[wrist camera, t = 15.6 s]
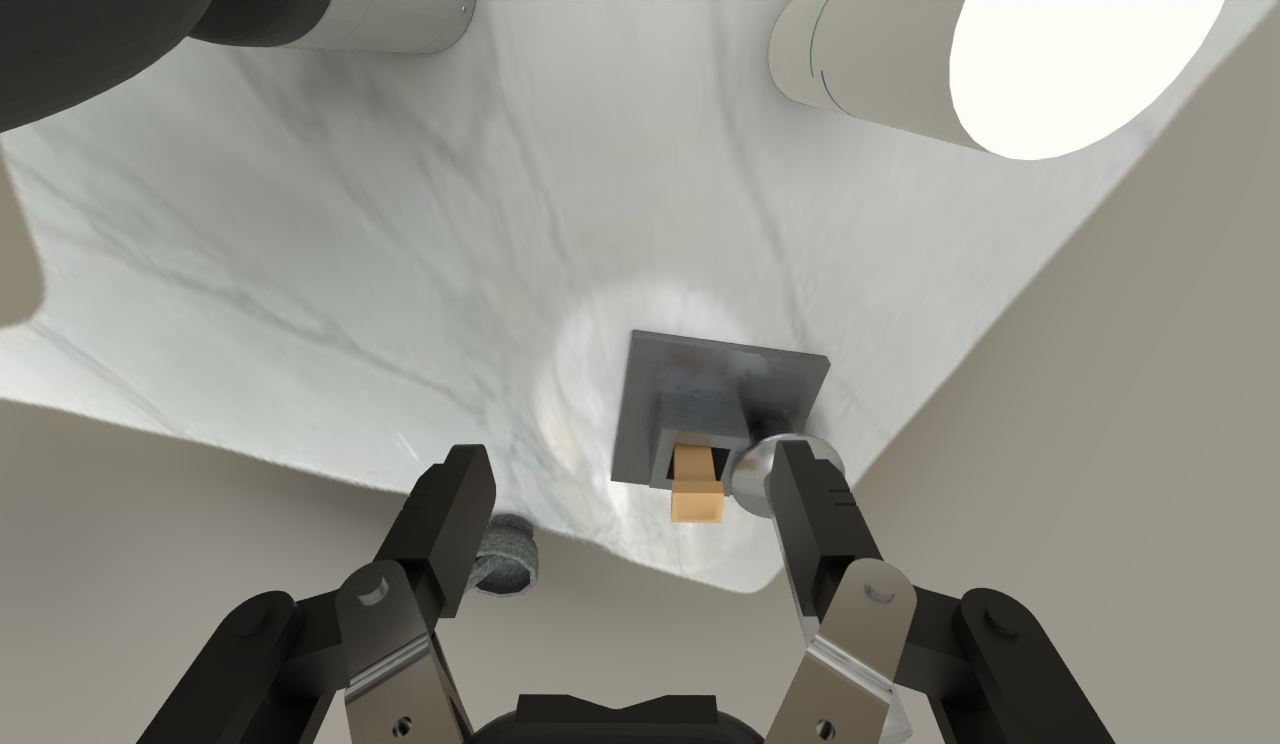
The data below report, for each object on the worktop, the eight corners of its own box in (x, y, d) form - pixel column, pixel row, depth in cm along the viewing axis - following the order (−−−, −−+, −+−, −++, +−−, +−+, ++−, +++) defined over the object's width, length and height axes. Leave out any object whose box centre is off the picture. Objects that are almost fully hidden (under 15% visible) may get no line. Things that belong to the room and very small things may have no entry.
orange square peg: (667, 434, 53) (671, 522, 43) (668, 407, 50) (672, 493, 40) (706, 434, 52) (720, 522, 42) (709, 407, 50) (724, 493, 40)
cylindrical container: (794, 124, 37) (983, 205, 16) (750, 33, 34) (916, -16, 13) (883, 60, 34) (1244, 57, 14) (846, -44, 31) (1240, -257, 10)
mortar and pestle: (555, 518, 63) (538, 604, 53) (536, 557, 68) (516, 643, 58) (472, 494, 61) (437, 580, 51) (458, 537, 65) (424, 623, 55)
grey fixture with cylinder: (611, 471, 58) (583, 774, 33) (633, 329, 47) (617, 623, 22) (788, 492, 59) (886, 796, 35) (849, 359, 49) (1056, 665, 24)
